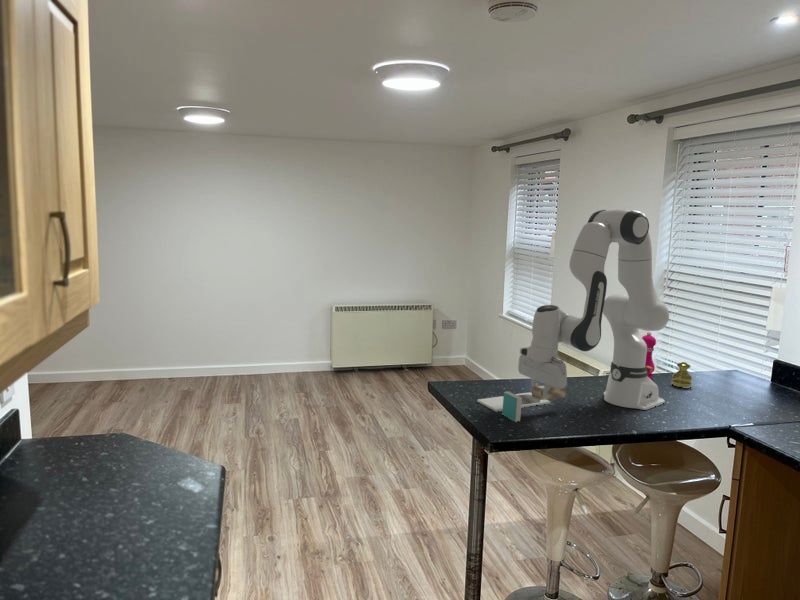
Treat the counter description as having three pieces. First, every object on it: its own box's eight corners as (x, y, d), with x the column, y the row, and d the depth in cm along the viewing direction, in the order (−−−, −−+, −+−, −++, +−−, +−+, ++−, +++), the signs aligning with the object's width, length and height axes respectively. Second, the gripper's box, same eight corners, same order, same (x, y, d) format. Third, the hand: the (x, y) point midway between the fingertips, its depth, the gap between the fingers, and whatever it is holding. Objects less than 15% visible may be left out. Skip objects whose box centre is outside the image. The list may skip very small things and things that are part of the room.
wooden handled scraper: (556, 392, 205) (557, 381, 205) (569, 398, 200) (570, 386, 199) (509, 399, 195) (510, 387, 195) (520, 405, 190) (521, 393, 189)
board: (529, 394, 219) (530, 392, 219) (550, 403, 209) (550, 401, 209) (477, 401, 208) (477, 399, 207) (496, 411, 198) (496, 409, 198)
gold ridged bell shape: (667, 383, 243) (670, 359, 241) (684, 383, 244) (687, 360, 242) (677, 389, 236) (680, 364, 234) (695, 389, 236) (698, 365, 235)
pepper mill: (655, 381, 245) (660, 334, 242) (636, 379, 246) (642, 332, 243) (651, 376, 252) (656, 330, 249) (633, 374, 254) (638, 329, 250)
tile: (506, 414, 196) (508, 391, 195) (520, 421, 190) (522, 397, 189) (501, 415, 195) (503, 391, 194) (515, 422, 189) (517, 398, 188)
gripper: (573, 361, 188) (569, 402, 190) (530, 346, 205) (527, 384, 208) (558, 362, 185) (554, 404, 187) (516, 347, 202) (513, 386, 205)
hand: (540, 394), depth 197 cm, fingers closed on wooden handled scraper, 2 cm apart
